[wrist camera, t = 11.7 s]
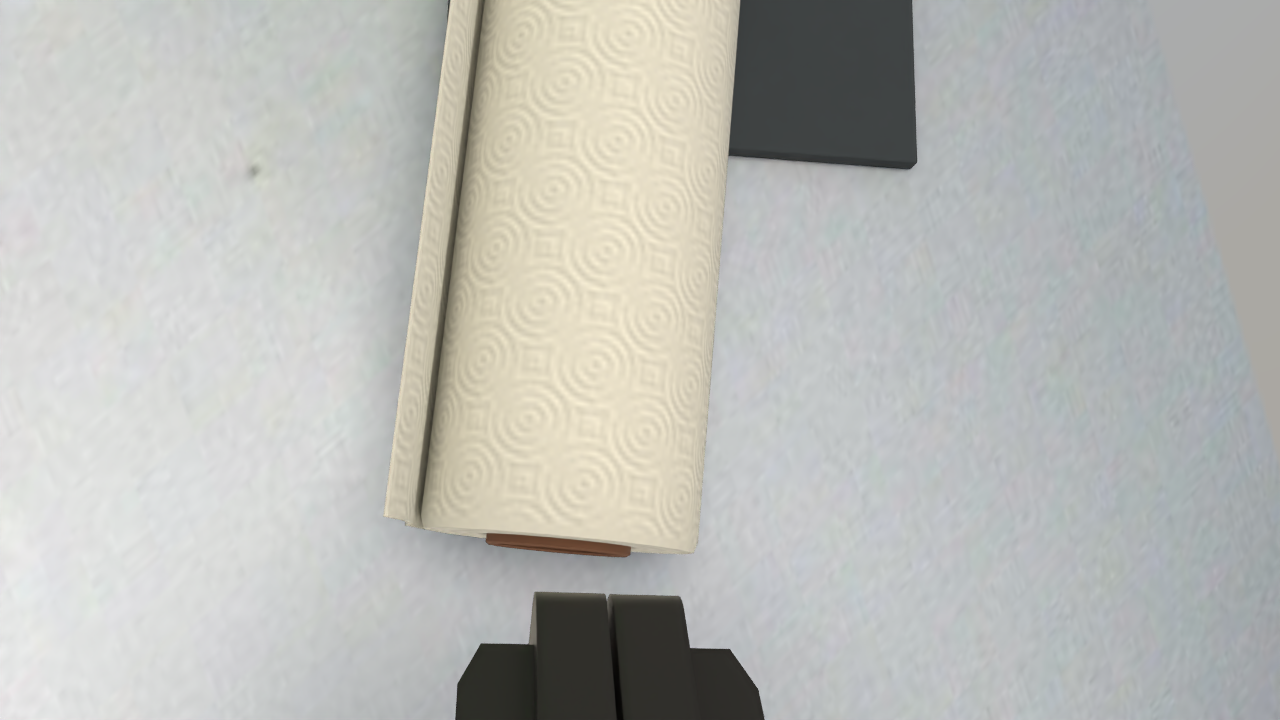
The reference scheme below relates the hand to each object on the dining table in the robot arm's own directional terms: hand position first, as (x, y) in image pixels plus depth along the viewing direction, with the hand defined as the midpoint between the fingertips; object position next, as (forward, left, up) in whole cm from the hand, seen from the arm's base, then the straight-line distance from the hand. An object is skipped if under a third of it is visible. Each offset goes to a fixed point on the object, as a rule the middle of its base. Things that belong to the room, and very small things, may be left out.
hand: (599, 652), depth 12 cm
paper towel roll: (0, -2, -13) cm, 13 cm away
